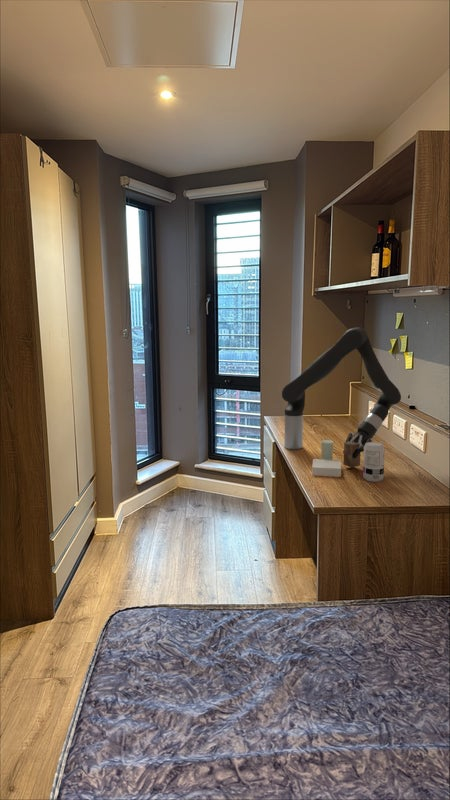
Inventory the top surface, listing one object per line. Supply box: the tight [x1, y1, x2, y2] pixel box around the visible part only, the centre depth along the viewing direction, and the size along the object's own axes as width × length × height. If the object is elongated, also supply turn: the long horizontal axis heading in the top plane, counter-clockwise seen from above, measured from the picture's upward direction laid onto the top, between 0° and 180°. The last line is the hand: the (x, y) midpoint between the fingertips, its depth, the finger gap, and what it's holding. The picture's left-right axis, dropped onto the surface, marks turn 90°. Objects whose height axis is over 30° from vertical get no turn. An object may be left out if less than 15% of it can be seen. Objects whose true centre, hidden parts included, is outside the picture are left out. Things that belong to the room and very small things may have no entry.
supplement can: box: [362, 441, 386, 483], centre depth 207 cm, size 8×8×15 cm
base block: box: [311, 458, 342, 478], centre depth 219 cm, size 12×12×4 cm
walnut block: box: [343, 441, 361, 468], centre depth 222 cm, size 5×5×10 cm
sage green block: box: [320, 439, 334, 460], centre depth 231 cm, size 5×5×10 cm
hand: (348, 455), depth 221 cm, fingers closed on walnut block, 5 cm apart
